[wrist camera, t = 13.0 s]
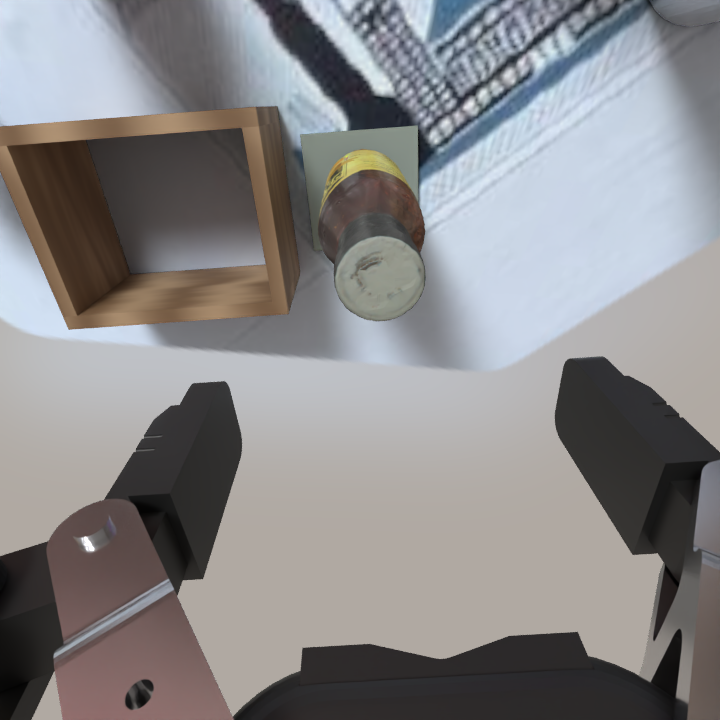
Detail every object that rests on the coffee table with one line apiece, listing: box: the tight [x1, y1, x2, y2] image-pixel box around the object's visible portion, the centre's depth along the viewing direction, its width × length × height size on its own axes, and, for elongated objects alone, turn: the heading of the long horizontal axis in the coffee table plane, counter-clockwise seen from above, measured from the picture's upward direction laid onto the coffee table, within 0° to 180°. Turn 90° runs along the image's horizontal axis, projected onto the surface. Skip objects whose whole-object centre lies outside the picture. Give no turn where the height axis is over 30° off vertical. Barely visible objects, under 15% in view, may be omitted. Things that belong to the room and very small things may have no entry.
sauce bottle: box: [318, 149, 425, 321], centre depth 28 cm, size 6×6×20 cm
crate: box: [0, 106, 300, 330], centre depth 33 cm, size 16×13×9 cm
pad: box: [300, 126, 418, 251], centre depth 37 cm, size 9×9×1 cm
